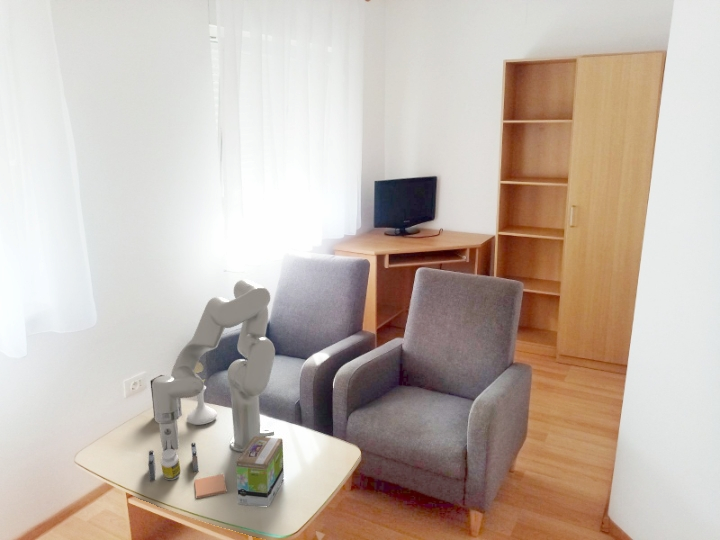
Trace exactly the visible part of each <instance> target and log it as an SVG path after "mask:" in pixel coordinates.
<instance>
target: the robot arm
mask: <svg viewBox="0 0 720 540" xmlns="http://www.w3.org/2000/svg"><path fill="white" fill-rule="evenodd" d="M233 296H234V299H231V300H229V299H227V298H224V297H220V296H216V297H212V298H210V299H209V300H208V302H207V303H206V305H205V308H204V310H203V312H202V315H201V317H200V319H199V322H198V324H197V327H196V328H195V331H194V334H193V336H192V338H191V339H190V340H189V341H188V342H187V344H185V346H184V347H183V348H182V349H181V350H180V352H179V354H178V356H177V358H176V360H175V362H174V366H173V367H172V370H171V373H170V375H168V374H166V375H164V376H160V375H159V376H160V377H158V376H156V377H157V378H156V377H155V378H156V379H154V378H153V379H154V381H153V383H152V389H153V401H154V410H153V413H154V412H155V418H154V420H155V422H156V423H158V424H159V432H160V433H159V434H160V442H161V446H162V447H161V448H162V452H164V451H165V450H167V449H173V450H174V451H175V453H176V450H179V449H180V448H179V442H180V441H179V431H178V430H179V429H178V420H179V419H180V416H179V404H178V398H181V399H189V398H193V397H197V395H198V394H200V393H201V392H202V390H203V388H204V386H205V384H204V383H205V382H203V380H204V379H202V378H201V377H200V375H199V374H198V373H195V372H194V370H195V367H196V365H197V363H198V362H199V360H200V359H201V357H202V356H203V355H204V354H205V353H207V352H209V351H212V350H215V349H217V348H218V346H219V344H220V341H221V338H222V336H223V333H224V332H225V329H231V328H234V327H236V326H238V325H241V328H240V332H239V335H238V341H237V345H236V346H237V347H236V348H237V351H238V353H239V354H240V355H241V356H242V357H243V358H239V359H236V360H234V361H233V362H232V363H231V364H230V365H229V367H228V368H227V373H226V374H227V375H226V377H227V383H228V388H229V393H230V400H231V402H230V403H231V412H232V413H231V414H232V415H231V416H232V429H233V436H232V438H231V439H230V441H229V446H230V448H231V449H232V450H233V451H236V452H240V453H242V452H243V451H244V450H245V448H246V447H247V445H248V444H249V443H250V441H251V440H252V438H253V437H254V436H258V437H273V436H275V430H273V429H272V430H270V428H264V429H263V428H261V418H260V417H261V416H260V415H261V414H260V398H259V397H260V395H261V394H263V393H264V391H265V390H266V389H267V387H268V384H269V382H270V379H271V378H270V377H271V373H272V370H273V365H274V363H275V357H276V356H275V355H276V349H275V346H274V345H275V344H274V343H273V342H272V341H271V340H270V339H269V338H268V337H266V333H267V327H268V323H269V322H268V321H269V309H268V305H269V304H270V301H271V294H270V292H269V290H268V289H267V288H266V287H265V286H263V285H260V284H259V283H256V282H254V281H252V280H249V279H241V280H238V281H237V282H236V283H235V284H234V287H233ZM244 358H245V359H244ZM153 401H152V402H153ZM176 454H177V453H176Z"/></svg>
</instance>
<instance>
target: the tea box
mask: <svg viewBox="0 0 720 540" xmlns="http://www.w3.org/2000/svg"><path fill="white" fill-rule="evenodd" d="M283 441H284V440H283V438H278V437H269V436H267V437H258V436H254V437H253V438H252V440H251V441H250V443H249V444H248V445H247V447H246V448H245V450H244V451H243V452H241V454H240V455H239V456H238V458H237V460H236V462H235V463H236V464H235V465H236V482H237V483H236V485H237V487H236V488H237V504H238V505H242V506H243V505H244V506H250V505H252V506H251V507H258V506H267V507H266V508H269V506H270V505H271V503H272V501H273V500H274V497H275V496H274V495H276V494H277V492H278V490H279V489H280V486H281V485H280V484H282V483H281V482H283V481H284V479H283V478H284V477H285V472H284V446H283V445H284V444H283V443H284V442H283ZM282 480H283V481H282Z"/></svg>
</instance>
